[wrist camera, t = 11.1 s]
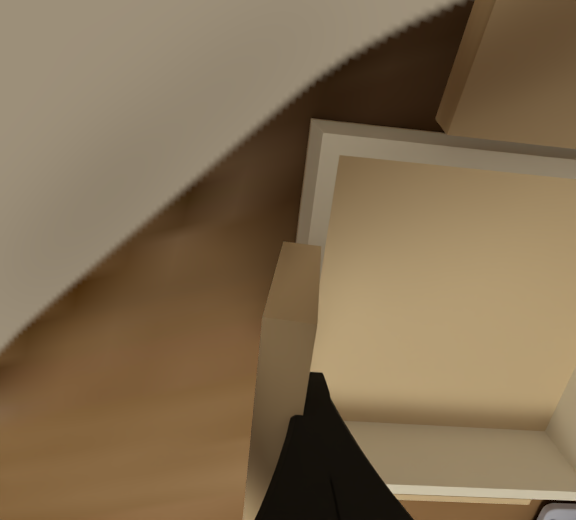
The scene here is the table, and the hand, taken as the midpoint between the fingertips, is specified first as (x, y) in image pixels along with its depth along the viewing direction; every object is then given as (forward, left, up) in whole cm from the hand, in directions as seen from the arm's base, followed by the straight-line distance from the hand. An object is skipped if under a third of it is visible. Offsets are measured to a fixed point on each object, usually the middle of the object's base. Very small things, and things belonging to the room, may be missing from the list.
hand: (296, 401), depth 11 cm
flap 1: (0, 0, 0) cm, 0 cm away
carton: (0, -7, -6) cm, 9 cm away
